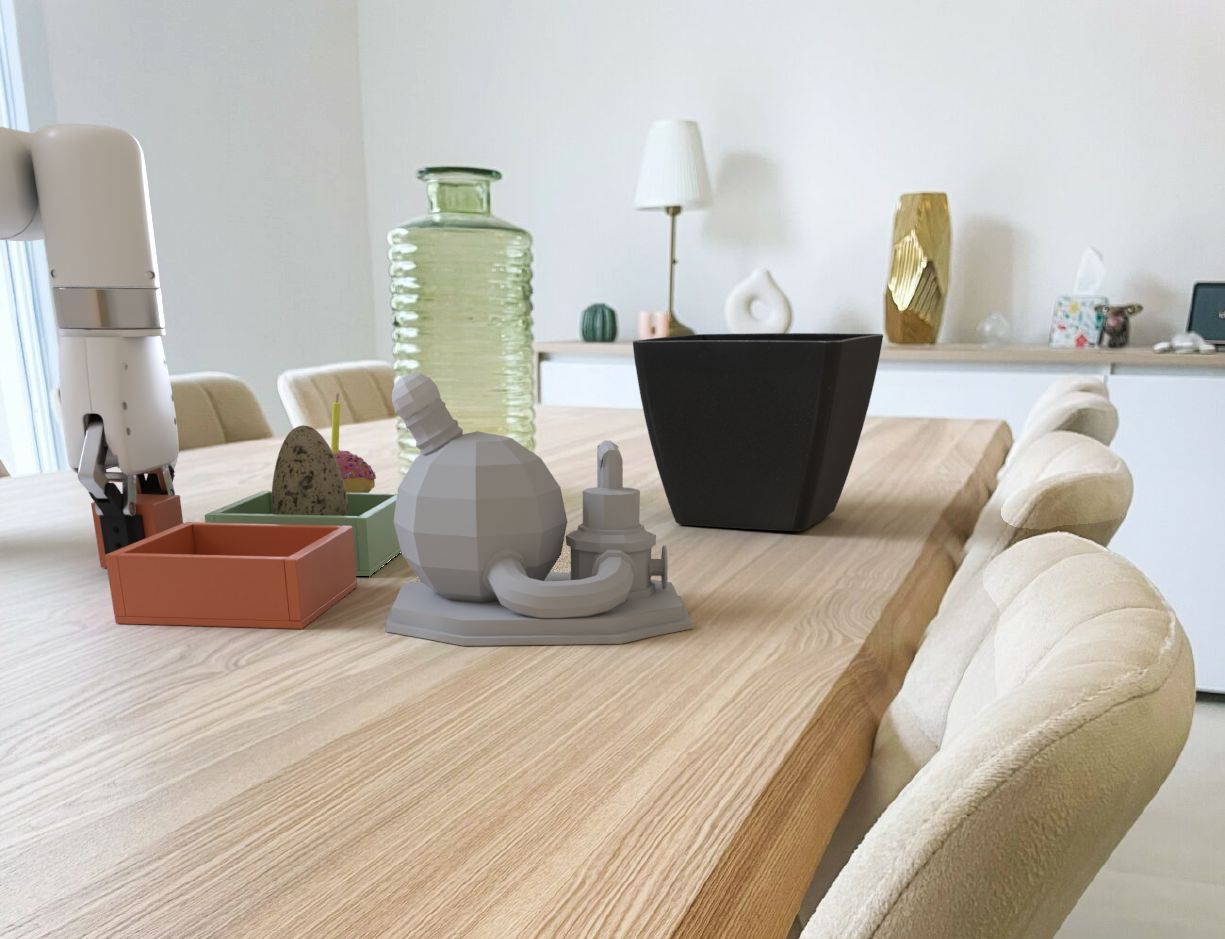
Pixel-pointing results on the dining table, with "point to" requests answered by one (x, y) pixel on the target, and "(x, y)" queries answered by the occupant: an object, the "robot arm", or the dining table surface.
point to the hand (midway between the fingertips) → (144, 556)
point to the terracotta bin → (232, 575)
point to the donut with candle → (350, 461)
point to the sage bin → (331, 523)
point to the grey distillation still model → (518, 543)
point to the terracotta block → (147, 517)
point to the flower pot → (755, 423)
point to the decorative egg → (308, 477)
